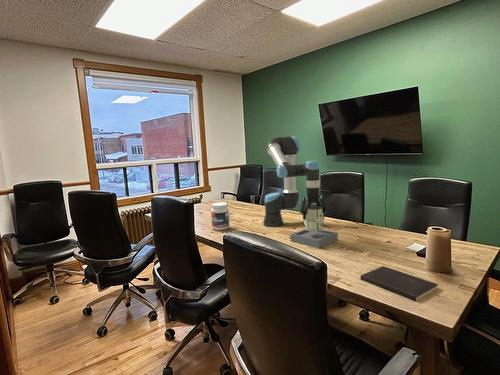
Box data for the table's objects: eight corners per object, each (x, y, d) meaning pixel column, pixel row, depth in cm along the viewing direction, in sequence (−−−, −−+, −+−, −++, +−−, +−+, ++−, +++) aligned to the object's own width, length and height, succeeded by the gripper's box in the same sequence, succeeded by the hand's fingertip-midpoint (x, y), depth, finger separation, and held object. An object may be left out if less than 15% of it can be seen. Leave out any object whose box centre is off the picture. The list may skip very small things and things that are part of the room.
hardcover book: (382, 270, 132) (382, 265, 131) (438, 289, 112) (438, 284, 112) (360, 280, 123) (360, 275, 123) (415, 303, 104) (415, 297, 103)
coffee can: (306, 226, 182) (306, 204, 181) (323, 227, 179) (323, 204, 177) (303, 231, 173) (303, 207, 171) (321, 231, 169) (321, 208, 168)
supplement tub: (209, 230, 211) (207, 205, 208) (215, 226, 223) (214, 202, 221) (226, 231, 208) (224, 205, 205) (231, 226, 220) (230, 202, 218)
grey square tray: (290, 241, 178) (290, 234, 177) (310, 233, 191) (310, 227, 190) (318, 248, 163) (318, 240, 162) (337, 239, 176) (337, 232, 176)
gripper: (299, 189, 166) (300, 227, 168) (333, 186, 173) (333, 222, 176) (292, 188, 173) (294, 224, 175) (325, 185, 180) (326, 220, 183)
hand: (313, 223), depth 176 cm, fingers closed on coffee can, 10 cm apart
